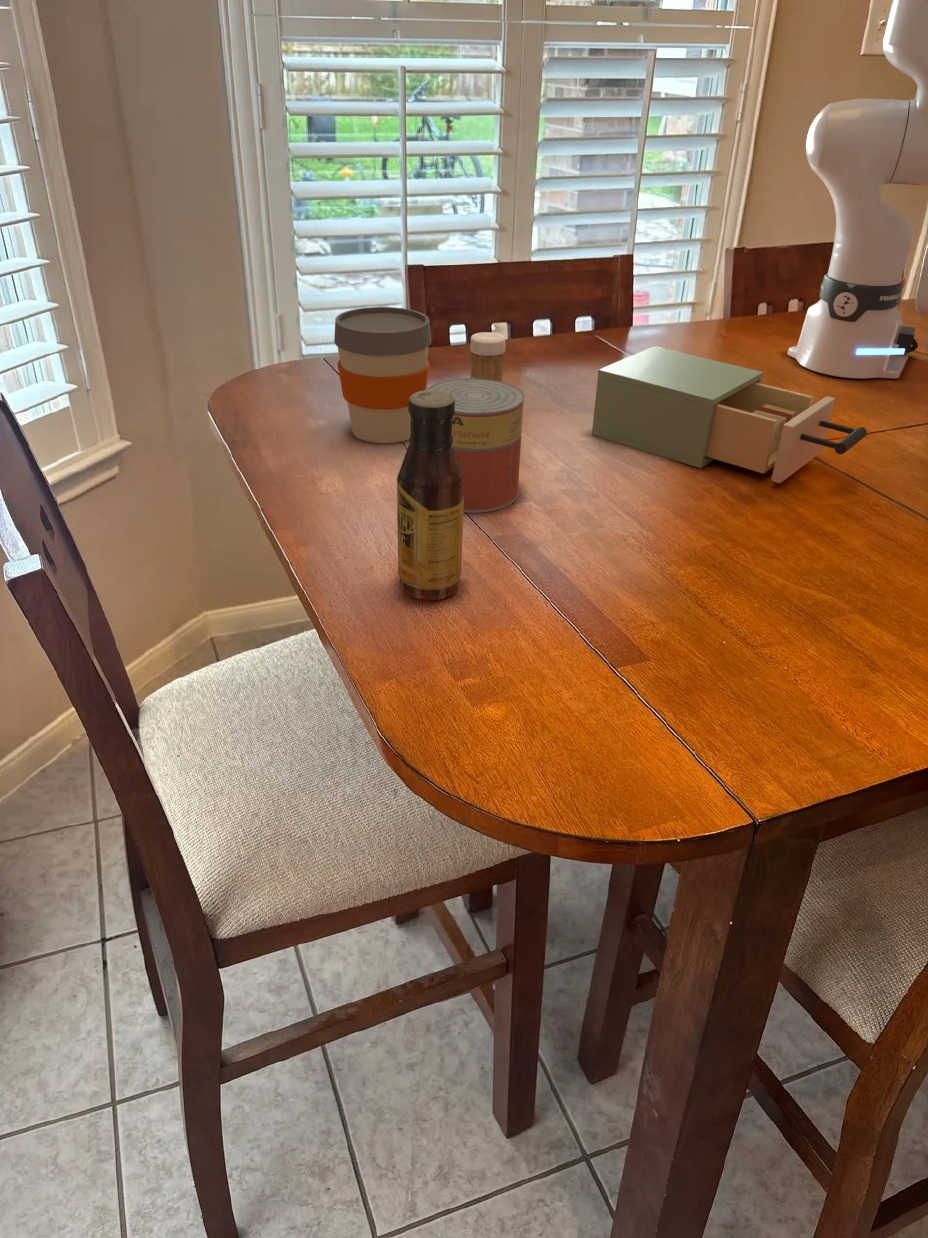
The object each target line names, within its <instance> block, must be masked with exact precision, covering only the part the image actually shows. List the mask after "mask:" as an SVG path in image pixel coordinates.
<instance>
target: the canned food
mask: <svg viewBox="0 0 928 1238" xmlns="http://www.w3.org/2000/svg"><path fill="white" fill-rule="evenodd" d="M426 390H438V391H443V392H447V393H449V394H451V395H452V396H453V398H454V400H455V413H454V416H453V418H452V437H453V444H452V447H453V449H454V451H455V453H456V454H457V455H458V456H459V458H460V460H461V462H462V465H463V472H464V478H463V495H464V508H463V514H464V513H466V514H482V513H483V514H484V513H491V512H496V511H499V510H502V509H506V508H507V507H509V506H512V505H513V504H514V503H515V502H516V501H517V499H518V498H519V493H520V491H519V482H520V481H519V480H520V466H521V464H520V463H521V451H522V450H521V449H522V448H521V447H522V430H523V418H524V417H523V416H524V415H523V414H524V402H525V394H524V392H523V391H522V390H520V389H519V387H516V386H515V385H513V384H509V383H507V382H504V381H503V382H500V381H495V380H488V379H474V378H470V377H469V378H454V379H449V380H444V381H440V382H437V383H434V384H433V385H431V386H429V387H428V388H426Z"/></svg>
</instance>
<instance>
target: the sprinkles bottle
mask: <svg viewBox="0 0 928 1238" xmlns="http://www.w3.org/2000/svg"><path fill="white" fill-rule="evenodd" d="M469 341H470V343H469V344H470V345H469V350H470V355H471V356H470V357H471V358H470V374H469V378H474V379H488V380H495V381H500V382H504V379H503V377H504V372H503V371H504V356H505V353H506V347H507V340H506V336H504V335H503V334H501V333H498V332H490V331H489V332H488V331H487V332H486V331H485V332H484V331H483V332H477V333H474V334H472V335H471V336H470V340H469Z"/></svg>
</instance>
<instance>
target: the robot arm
mask: <svg viewBox="0 0 928 1238" xmlns="http://www.w3.org/2000/svg"><path fill="white" fill-rule="evenodd" d="M882 50H883V53H884V54H883V55H884V57H885V58H886V60H887V61H888V62H889V63H890V64H891V65H892V66H893V67H894V68H896V69H897V70H898V71H900V72H901V73H902V74H904V75H906V76H907V77H909V78H910V79H912V80H913V81H914V82H915V84H916V86H917V89H916V94H915V96H914V97H913V98H911V99H888V98H887V99H885V98H866V97H863V98H862V97H859V98H853V99H847V100H841V101H835V102H831V103H828V104H827V105H825V106H824V107H823V108H822V109H821V110H820V111H819V112H818V114H817V115H816V116H815V118H814V119H813V121H812V123H811V124H810V126H809V129H808V132H807V136H806V141H805V154H806V159H807V163H808V164H809V166H810V168H811V170H812V171H813V172H814V174H815V175H817V177H818V178H819V179H820V180H821V181H822V183H823V184H824V186H825V187H826V189H827V190H828V193H829V195H830V196H831V199H832V202H833V206H834V212H835V232H834V239H833V240H834V241H833V246H832V252H831V258H830V262H829V267H828V271H827V272H826V273H825V274H824V275H823V280H822V282H821V284H820V292H819V298H820V299H819V300H818V301H817V302H816V303H814V304H812V305H811V306H808V309H807V311H806V313H805V318H804V320H803V321H804V322H803V325H802V328H801V332H800V335H799V338H798V342H797V345H794V346H791V347H789V348H788V350H787V352H786V354H787V355H788V356H789V357H792V358H793V359H795V360H796V361H797V363H798V364H799V365H800V366H802V367H804V368H806V369H808V370H810V371H812V372H816V373H819V374H822V375H823V374H824V375H827V376H833V377H838V378H847V379H879V378H880V379H899V378H901V374H902V372H903V370H904V368H905V366H906V364H907V362H908V359H909V356H910V353H912V352H914V351H916V350H917V349H918V347H919V344H918V341H917V340H916V339H915V334H916V327H913V326H907V325H906V326H905V325H904V321H903V319H902V315H901V313H900V310H899V308H898V305H900V302H901V297H902V294H903V290H904V288H905V285H906V278H903V274H904V271H905V268H906V263H907V260H908V257H909V252H910V250H911V245H912V242H913V238H914V233H913V232H914V231H913V227H912V225H911V223H910V220H908V218H906V217H905V216H904V215H903V214H902V213H901V212H899V211H898V210H896V209H895V208H893V207H892V206H890V205H888V204H887V203H886V202H884V200H882V197H881V190H882V187H883V186H884V185H888V184H891V185H892V184H894V185H909V186H925V187H928V0H892V2H891V7H890V10H889V14H888V19H887V23H886V26H885V31H884V35H883V39H882ZM926 230H928V222H926ZM917 283H918V284H917V288H916V293H915V311H916V313H919V314H921V315H926V316H928V243H927V244H926V248H925V251H924V256H923V261H922V265H921V269H920V273H919V278H918V282H917ZM924 347H925V349H926V351H928V337H927V338H926V342H925V345H924Z"/></svg>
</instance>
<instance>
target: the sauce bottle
mask: <svg viewBox="0 0 928 1238" xmlns="http://www.w3.org/2000/svg"><path fill="white" fill-rule="evenodd" d="M408 409H409V414H410V416H411V436H410V439H409V443H408V446H407V449H406V452H405V454H404V457H403V460H402V462H401V463H402V464H401V466H400V468H399V471H398V474H397V477H396V498H397V499H396V505H397V506H396V516H397V517H396V519H397V520H396V521H397V523H396V524H397V527H396V528H397V531H396V533H397V574H398V577H399V585H400V588H401V590H402V591H403V592H404V593H405V594H407V596H408V597H411V598H412V599H415V600H422V601H430V602H431V601H440V600H444V599H448V598H450V597H452V596H454V595H455V594H456V592H457V591H458V588H459V586H460V581H461V576H462V564H463V563H462V562H463V561H462V559H463V533H464V512H463V508H464V495H463V478H464V472H463V465H462V462H461V460H460V458H459V456H458V455H457V454H456V453H455V451H454V449H453V447H452V444H453V437H452V418H453V416H454V413H455V400H454V398H453V396H452V395H451V394H449V393H447V392H443V391H438V390H427V389H426V390H424V391H419V392H416V393H414V394H413V395H411V396H410V398H409V408H408Z"/></svg>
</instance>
